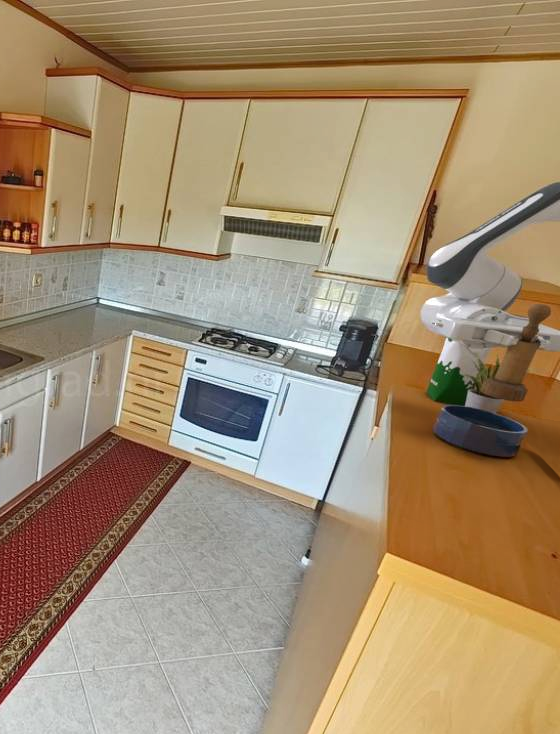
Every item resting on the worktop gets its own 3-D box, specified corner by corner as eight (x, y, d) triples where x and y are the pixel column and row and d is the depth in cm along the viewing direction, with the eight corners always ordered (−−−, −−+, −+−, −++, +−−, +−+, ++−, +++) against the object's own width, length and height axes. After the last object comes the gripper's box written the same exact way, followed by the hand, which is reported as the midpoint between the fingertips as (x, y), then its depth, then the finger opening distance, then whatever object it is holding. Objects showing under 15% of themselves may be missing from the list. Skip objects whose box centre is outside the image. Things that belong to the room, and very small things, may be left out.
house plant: (524, 437, 112) (557, 370, 106) (450, 420, 118) (477, 355, 112) (508, 418, 123) (537, 357, 118) (442, 403, 130) (466, 344, 124)
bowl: (503, 440, 109) (514, 416, 107) (525, 466, 97) (538, 439, 95) (426, 423, 115) (436, 399, 112) (438, 445, 103) (449, 419, 101)
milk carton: (421, 391, 138) (447, 322, 131) (458, 398, 135) (488, 328, 129) (431, 401, 130) (460, 329, 123) (472, 409, 128) (504, 335, 121)
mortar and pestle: (475, 386, 99) (513, 299, 93) (515, 394, 97) (557, 305, 90) (486, 396, 93) (527, 304, 87) (528, 405, 91) (574, 310, 85)
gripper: (431, 306, 103) (475, 320, 90) (536, 318, 101) (597, 334, 88) (421, 334, 105) (462, 352, 93) (523, 347, 103) (580, 367, 90)
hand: (529, 343), depth 90 cm, fingers closed on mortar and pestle, 4 cm apart
